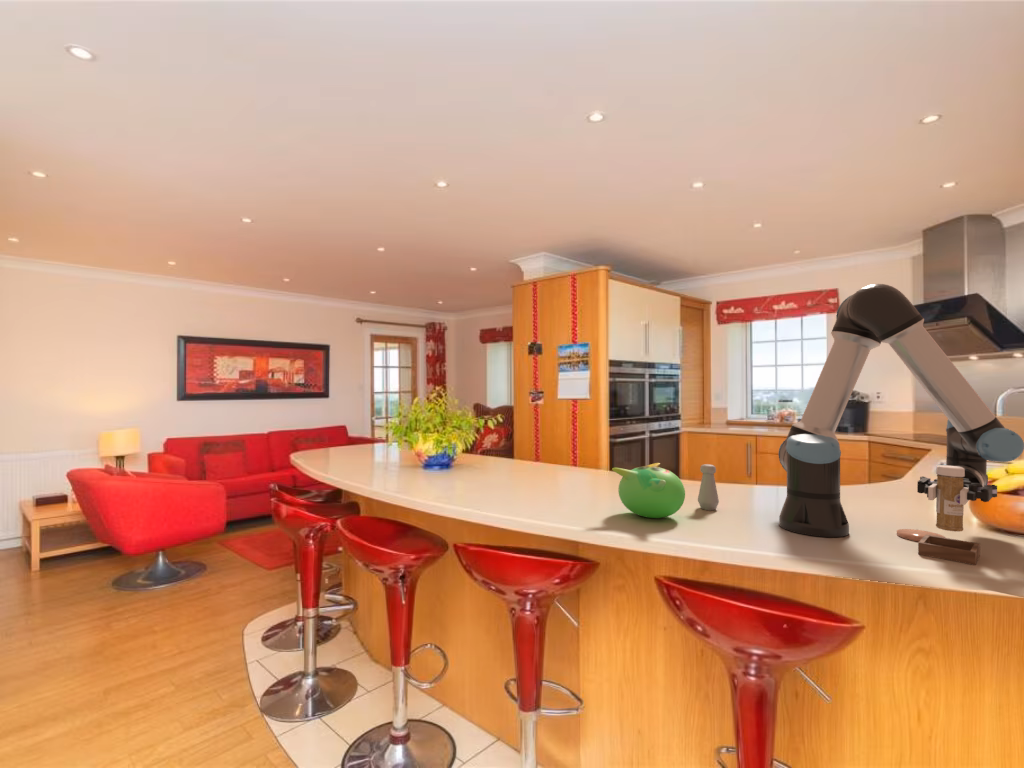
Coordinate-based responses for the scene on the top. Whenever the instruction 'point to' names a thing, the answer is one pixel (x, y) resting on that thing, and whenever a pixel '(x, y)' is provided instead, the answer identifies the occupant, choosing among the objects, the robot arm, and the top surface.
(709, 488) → the salt shaker
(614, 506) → the top surface
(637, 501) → the green cartoon creature figurine
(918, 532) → the terracotta coaster
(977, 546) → the walnut collar
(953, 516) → the sprinkles bottle
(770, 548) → the top surface
